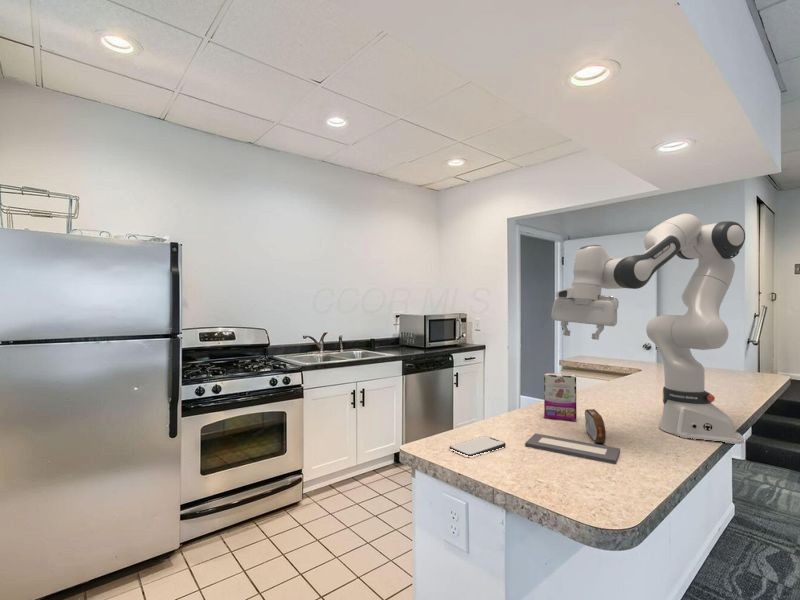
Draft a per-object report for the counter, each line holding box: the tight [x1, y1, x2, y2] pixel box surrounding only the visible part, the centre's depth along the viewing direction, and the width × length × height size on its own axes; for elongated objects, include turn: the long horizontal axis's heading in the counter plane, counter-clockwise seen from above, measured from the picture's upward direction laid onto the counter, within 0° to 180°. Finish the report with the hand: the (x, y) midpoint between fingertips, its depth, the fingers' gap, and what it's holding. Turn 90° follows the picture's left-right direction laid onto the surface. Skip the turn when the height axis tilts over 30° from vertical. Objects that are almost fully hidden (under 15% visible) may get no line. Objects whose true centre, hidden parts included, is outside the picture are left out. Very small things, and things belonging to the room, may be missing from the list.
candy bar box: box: [543, 372, 578, 422], centre depth 151 cm, size 11×5×16 cm, turn 68°
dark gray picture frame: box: [524, 432, 621, 465], centre depth 119 cm, size 24×11×1 cm, turn 57°
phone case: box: [449, 435, 507, 456], centre depth 119 cm, size 9×2×16 cm
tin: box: [584, 408, 607, 444], centre depth 129 cm, size 15×3×8 cm, turn 168°
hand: (580, 337), depth 131 cm, fingers open, 8 cm apart
